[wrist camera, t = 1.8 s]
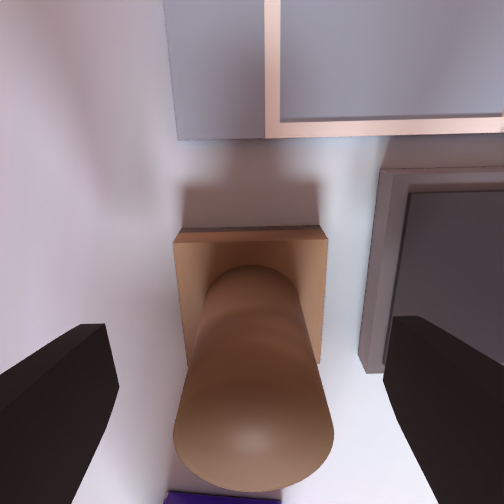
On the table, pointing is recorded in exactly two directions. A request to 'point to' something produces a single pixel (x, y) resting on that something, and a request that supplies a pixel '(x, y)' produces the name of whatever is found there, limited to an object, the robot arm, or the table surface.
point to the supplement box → (210, 499)
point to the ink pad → (436, 258)
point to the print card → (335, 67)
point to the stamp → (252, 355)
